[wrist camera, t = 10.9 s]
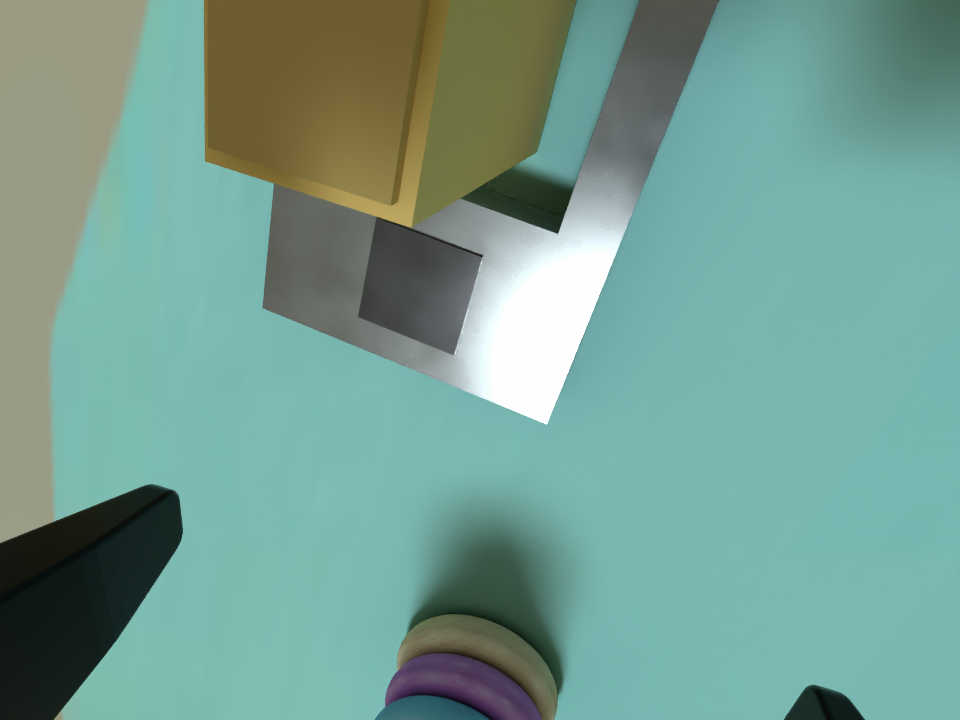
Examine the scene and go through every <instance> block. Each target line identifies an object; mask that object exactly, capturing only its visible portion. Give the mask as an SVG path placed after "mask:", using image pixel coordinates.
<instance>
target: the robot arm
mask: <svg viewBox="0 0 960 720" xmlns="http://www.w3.org/2000/svg"><path fill="white" fill-rule="evenodd" d="M182 534H183V526H182V517H181V508H180V499H179V495H178V494H177V493H176V491H174V490H171V489H168V488H165V487H161V486H158V485H153V484H150V485H145V486H142V487H140V488H137V489H135V490H132V491H130V492H127V493H125V494H122V495H120V496H117V497H115V498H112V499H110V500H107V501H105V502H102V503H100V504H97V505H95V506H92V507H90V508H87V509H85V510H82V511H79V512H77V513H74V514H72V515H69V516H67V517H64V518H62V519H59V520H57V521H54V522H52V523H49V524H47V525H44V526H42V527H39V528H37V529H34V530H32V531H29V532H27V533H24V534H22V535H19V536H17V537H15V538H12V539H9V540H7V541H4V542H2V543H0V720H54V719H55V717H56V716H57V715H58V714H59V712H60V711H61V710H62V709H63V707H64V706H65V705H66V704H67V702H68V701H69V700H70V699H71V697H72V696H73V695H74V694H75V692H76V691H77V690H78V689H79V687H80V686H81V685H82V684H83V682H84V681H85V680H86V679H87V677H88V676H89V675H90V674H91V672H92V671H93V670H94V668H95V667H96V666H97V665H98V663H99V662H100V661H101V660H102V658H103V657H104V656H105V655H106V653H107V652H108V651H109V649H110V648H111V647H112V645H113V644H114V643H115V642H116V640H117V639H118V637H119V636H120V634H121V633H122V632H123V630H124V629H125V627H126V626H127V624H128V623H129V621H130V620H131V618H132V617H133V615H134V614H135V612H136V611H137V609H138V608H139V606H140V604H141V603H142V601H143V600H144V598H145V597H146V595H147V594H148V592H149V591H150V589H151V588H152V586H153V585H154V583H155V582H156V580H157V578H158V577H159V575H160V574H161V572H162V571H163V569H164V568H165V566H166V565H167V563H168V562H169V560H170V559H171V557H172V556H173V554H174V553H175V551H176V549H177V548H178V546H179V544H180V542H181V539H182ZM784 720H865V719H864V718H863V716H862V715H861V714H860V712H859V711H858V710H857V708H856V707H855V706H854V704H853V703H852V702H851V701H850V700H849V699H848V698H847V697H846V696H845V695H844V694H842V693H840V692H837V691H834V690H830V689H827V688H824V687H821V686H817V685H810V686H808V687H806V688H805V689H804V691H803V692H802V693H801V695H800V696H799V698H798V699H797V701H796V702H795V704H794V705H793V707H792V708H791V710H790V711H789V713H788V714H787V715H786V717H785V719H784Z"/></svg>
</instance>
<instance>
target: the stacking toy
mask: <svg viewBox="0 0 960 720" xmlns="http://www.w3.org/2000/svg"><path fill="white" fill-rule="evenodd" d="M557 703H558V696H557V688H556V684H555V681H554V678H553V676H552V674H551V671H550V670H549V668H548V666H547V664H546V663H545V661H544V660H543V659H542V657H541V656H540V655H539V654H538V653H537V652H536V651H535V650H534V649H533V648H532V647H531V646H530V645H529V644H528V643H527V642H526V641H525V640H523V639H522V638H521V637H519V636H518V635H516V634H515V633H513V632H512V631H510V630H509V629H507V628H505V627H503V626H501V625H499V624H496V623H494V622H491V621H489V620H486V619H482V618H479V617H474V616H470V615H462V614H448V615H440V616H436V617H432V618H429V619H427V620H425V621H422V622H421V623H419V624H418V625H416V626H415V627H414V628H413V629H412V630H411V631H410V632H409V633H408V634H407V635H406V637H405V638H404V640H403V641H402V643H401V646H400V648H399V652H398V657H397V672H396V673H395V675H394V676H393V678H392V680H391V682H390V684H389V686H388V689H387V693H386V698H385V708H384V709H383V710H382V711H381V712H380V713H379V714H378V716H377V717H376V719H375V720H554V717H555V714H556V710H557Z"/></svg>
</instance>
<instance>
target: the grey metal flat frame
mask: <svg viewBox="0 0 960 720" xmlns="http://www.w3.org/2000/svg"><path fill="white" fill-rule="evenodd" d="M718 2H719V0H640V1H639V4H638V6H637V9H636V12H635V15H634V18H633V21H632V24H631V27H630V29H629V32H628V35H627V38H626V41H625V44H624V47H623V49H622V52H621V55H620V58H619V61H618V64H617V67H616V70H615V72H614V75H613V78H612V81H611V84H610V87H609V90H608V93H607V95H606V98H605V101H604V104H603V107H602V110H601V113H600V115H599V118H598V121H597V124H596V127H595V130H594V133H593V136H592V138H591V141H590V144H589V147H588V150H587V153H586V156H585V158H584V161H583V164H582V167H581V170H580V173H579V176H578V179H577V181H576V184H575V187H574V190H573V193H572V196H571V199H570V202H569V204H568V207H567V210H566V213H565V216H564V217H563V216H560V215H557V214H554V213H551V212H549V211H546V210H543V209H540V208H537V207H535V206H532V205H529V204H526V203H524V202H521V201H518V200H515V199H512V198H510V197H507V196H504V195H501V194H498V193H496V192H493V191H490V190H487V189H485V188H482V187H478V188H477V189H475V190H473V191H472V192H470V193H468V194H467V195H465V196H463V197H462V198H460V199H458V200H457V201H455V202H453V203H452V204H450V205H448V206H447V207H445V208H443V209H442V210H440V211H438V212H437V213H435V214H433V215H432V216H430V217H429V218H427V219H425V220H424V221H422V222H420V223H419V224H417V225H415V226H414V227H412V228H410V227H407V226H404V225H401V224H398V223H395V222H392V221H389V220H385V219H382V218H379V217H376V216H373V215H370V214H367V213H364V212H361V211H358V210H355V209H351V208H348V207H345V206H342V205H339V204H336V203H333V202H330V201H327V200H324V199H321V198H318V197H314V196H311V195H308V194H305V193H302V192H299V191H296V190H293V189H290V188H287V187H284V186H280V185H277V184H274V190H273V201H272V212H271V223H270V234H269V244H268V255H267V266H266V277H265V287H264V298H263V308H264V309H266V310H269V311H271V312H274V313H276V314H278V315H281V316H283V317H286V318H288V319H291V320H293V321H296V322H298V323H300V324H303V325H305V326H308V327H310V328H313V329H315V330H318V331H320V332H322V333H325V334H327V335H330V336H332V337H335V338H337V339H340V340H342V341H345V342H347V343H349V344H352V345H354V346H357V347H359V348H362V349H364V350H367V351H369V352H371V353H374V354H376V355H379V356H381V357H384V358H386V359H389V360H391V361H393V362H396V363H398V364H401V365H403V366H406V367H408V368H411V369H413V370H415V371H418V372H420V373H423V374H425V375H428V376H430V377H433V378H435V379H437V380H440V381H442V382H445V383H447V384H450V385H452V386H455V387H457V388H459V389H462V390H464V391H467V392H469V393H472V394H474V395H477V396H479V397H481V398H484V399H486V400H489V401H491V402H494V403H496V404H499V405H501V406H504V407H506V408H508V409H511V410H513V411H516V412H518V413H521V414H523V415H526V416H528V417H530V418H533V419H535V420H538V421H540V422H543V423H545V424H547V422H548V419H549V417H550V414H551V412H552V410H553V407H554V405H555V402H556V400H557V397H558V395H559V392H560V390H561V387H562V385H563V382H564V380H565V378H566V375H567V373H568V370H569V368H570V365H571V363H572V360H573V358H574V355H575V353H576V351H577V348H578V346H579V343H580V341H581V338H582V336H583V333H584V331H585V328H586V326H587V324H588V321H589V319H590V316H591V314H592V311H593V309H594V306H595V304H596V301H597V299H598V296H599V294H600V292H601V289H602V287H603V284H604V282H605V279H606V277H607V274H608V272H609V269H610V267H611V265H612V262H613V260H614V257H615V255H616V252H617V250H618V247H619V245H620V242H621V240H622V237H623V235H624V233H625V230H626V228H627V225H628V223H629V220H630V218H631V215H632V213H633V210H634V208H635V206H636V203H637V201H638V198H639V196H640V193H641V191H642V188H643V186H644V183H645V181H646V179H647V176H648V174H649V171H650V169H651V166H652V164H653V161H654V159H655V156H656V154H657V151H658V149H659V147H660V144H661V142H662V139H663V137H664V134H665V132H666V129H667V127H668V124H669V122H670V120H671V117H672V115H673V112H674V110H675V107H676V105H677V102H678V100H679V97H680V95H681V92H682V90H683V88H684V85H685V83H686V80H687V78H688V75H689V73H690V70H691V68H692V65H693V63H694V61H695V58H696V56H697V53H698V51H699V48H700V46H701V43H702V41H703V38H704V36H705V33H706V31H707V29H708V26H709V24H710V21H711V19H712V16H713V14H714V11H715V9H716V6H717V4H718Z"/></svg>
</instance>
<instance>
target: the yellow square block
mask: <svg viewBox="0 0 960 720" xmlns="http://www.w3.org/2000/svg"><path fill="white" fill-rule="evenodd" d="M575 4H576V0H204V66H205V161H206V162H209V163H212V164H216V165H219V166H222V167H225V168H228V169H231V170H234V171H237V172H240V173H243V174H246V175H250V176H253V177H256V178H259V179H262V180H265V181H268V182H271V183H274V184H277V185H280V186H284V187H287V188H290V189H293V190H296V191H299V192H302V193H305V194H308V195H311V196H314V197H318V198H321V199H324V200H327V201H330V202H333V203H336V204H339V205H342V206H345V207H348V208H351V209H355V210H358V211H361V212H364V213H367V214H370V215H373V216H376V217H379V218H382V219H385V220H389V221H392V222H395V223H398V224H401V225H404V226H407V227H410V228H412V227H414V226H415V225H417V224H419V223H420V222H422V221H424V220H425V219H427V218H429V217H430V216H432V215H433V214H435V213H437V212H438V211H440V210H442V209H443V208H445V207H447V206H448V205H450V204H452V203H453V202H455V201H457V200H458V199H460V198H462V197H463V196H465V195H467V194H468V193H470V192H472V191H473V190H475V189H477V188H478V187H480V186H482V185H483V184H485V183H487V182H488V181H490V180H492V179H493V178H495V177H497V176H498V175H500V174H501V173H503V172H505V171H506V170H508V169H510V168H511V167H513V166H515V165H516V164H518V163H520V162H521V161H523V160H525V159H526V158H528V157H530V156H531V155H533V154H535V153H536V152H537V150H538V146H539V142H540V139H541V135H542V131H543V127H544V123H545V119H546V116H547V112H548V108H549V104H550V100H551V96H552V93H553V89H554V85H555V81H556V77H557V73H558V70H559V66H560V62H561V58H562V54H563V50H564V47H565V43H566V39H567V35H568V31H569V27H570V23H571V20H572V16H573V12H574V8H575Z"/></svg>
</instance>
